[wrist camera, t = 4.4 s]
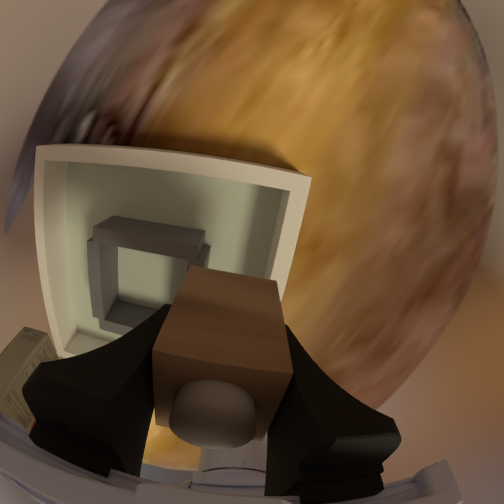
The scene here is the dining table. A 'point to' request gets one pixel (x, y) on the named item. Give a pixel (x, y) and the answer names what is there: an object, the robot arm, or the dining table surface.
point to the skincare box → (22, 371)
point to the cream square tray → (151, 231)
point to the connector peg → (221, 359)
